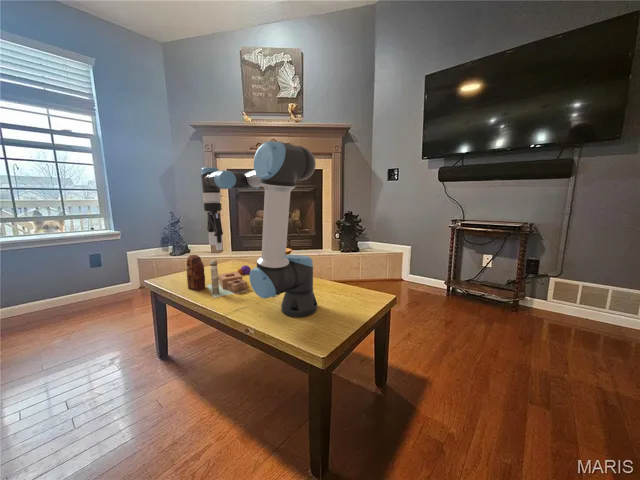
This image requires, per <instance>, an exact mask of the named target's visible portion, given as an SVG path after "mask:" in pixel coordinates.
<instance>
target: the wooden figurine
mask: <svg viewBox="0 0 640 480" xmlns="http://www.w3.org/2000/svg"><path fill="white" fill-rule="evenodd" d="M186 267H187V268H186V280H187V281H186V282H187V289H188V290H192V291H194V292H201V291H203V290H205V289H206V275H205V274H206V273H205V266H204V263H203V261H202V258H201V257H200V256H199V255H197V254H191V255H189V256H187V258H186Z"/></svg>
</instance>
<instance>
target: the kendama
mask: <svg viewBox="0 0 640 480" xmlns="http://www.w3.org/2000/svg"><path fill="white" fill-rule="evenodd" d="M251 270H252V269H251V267H250V266H249V265H242V266H241V267H240V268H239V269H237V271H236V272H238V273H239V274H240V275H241V276H243V275H248V274H249V275H250V272H251ZM218 281H219V279H218Z"/></svg>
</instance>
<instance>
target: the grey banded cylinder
mask: <svg viewBox="0 0 640 480" xmlns="http://www.w3.org/2000/svg"><path fill="white" fill-rule="evenodd" d="M209 266H210V268H209V269H210V278H211V284H212V293H213V294H214V295H215V294H219V280H218V274H219V271H218V261H217V260H215V259H214V260H210V261H209Z"/></svg>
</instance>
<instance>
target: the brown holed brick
mask: <svg viewBox="0 0 640 480" xmlns="http://www.w3.org/2000/svg"><path fill="white" fill-rule="evenodd" d="M227 290H229V291H231V292H233V293H235V294H238V293H237V292H240V293H242V292H241V291H244V290H248V282H247V281H246V280H243V279H242V280H241V279H237V280H233V281H229V282H227Z"/></svg>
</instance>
